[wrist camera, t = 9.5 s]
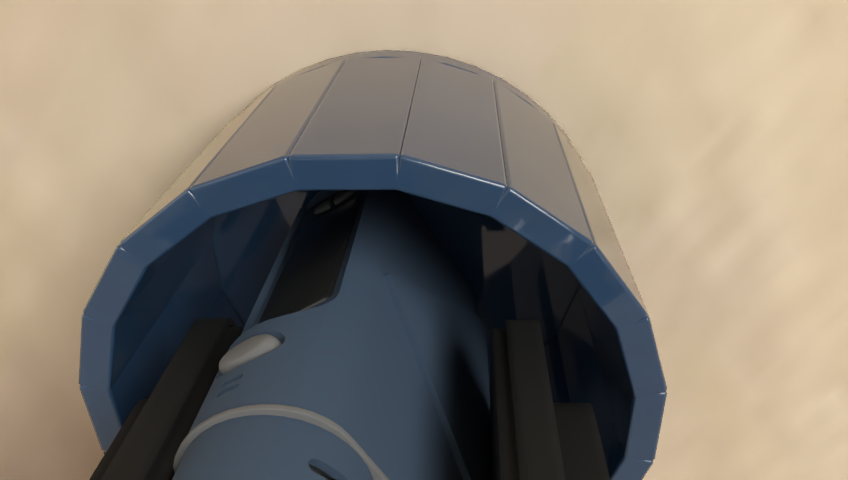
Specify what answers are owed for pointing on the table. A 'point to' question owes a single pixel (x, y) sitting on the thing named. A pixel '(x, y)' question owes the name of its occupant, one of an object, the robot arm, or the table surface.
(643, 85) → the table surface
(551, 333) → the pen cup
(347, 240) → the vaping device
